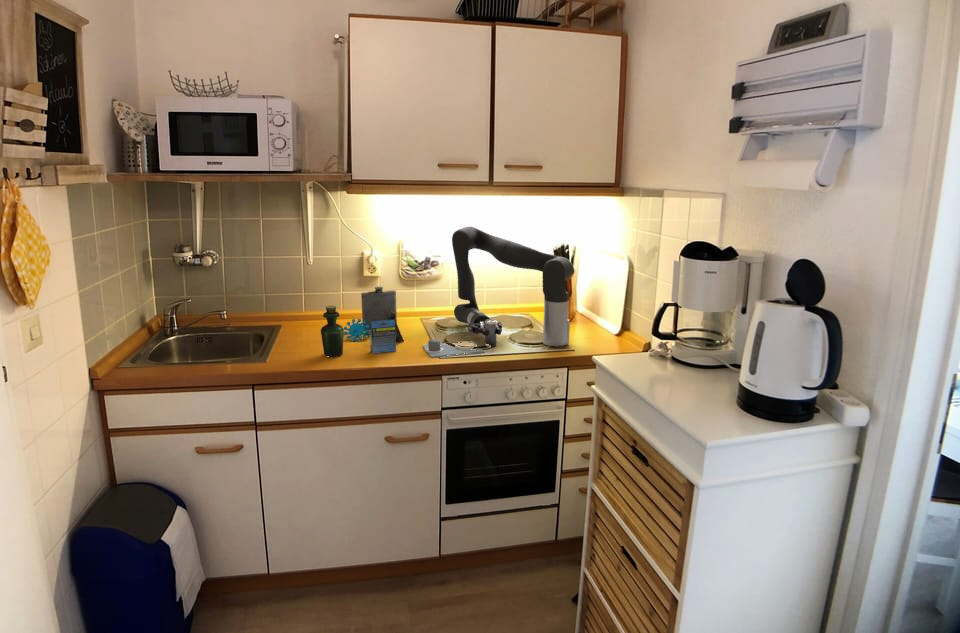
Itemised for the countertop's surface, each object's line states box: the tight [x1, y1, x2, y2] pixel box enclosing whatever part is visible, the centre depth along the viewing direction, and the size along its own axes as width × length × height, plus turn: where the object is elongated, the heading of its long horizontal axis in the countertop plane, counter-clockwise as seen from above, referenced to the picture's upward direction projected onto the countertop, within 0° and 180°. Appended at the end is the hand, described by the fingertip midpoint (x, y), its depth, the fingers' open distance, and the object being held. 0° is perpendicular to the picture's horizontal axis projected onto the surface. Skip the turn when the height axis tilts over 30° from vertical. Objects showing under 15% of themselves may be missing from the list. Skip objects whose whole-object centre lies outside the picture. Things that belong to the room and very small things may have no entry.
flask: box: [360, 286, 398, 330], centre depth 260 cm, size 4×14×18 cm, turn 112°
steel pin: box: [484, 318, 498, 349], centre depth 240 cm, size 4×4×10 cm
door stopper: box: [382, 310, 405, 344], centre depth 245 cm, size 9×6×12 cm, turn 111°
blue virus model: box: [343, 318, 370, 342], centre depth 250 cm, size 11×6×10 cm
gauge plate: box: [421, 338, 485, 359], centre depth 236 cm, size 20×14×4 cm
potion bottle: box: [320, 305, 345, 358], centre depth 227 cm, size 8×8×18 cm
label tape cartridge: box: [369, 320, 397, 354], centre depth 232 cm, size 9×4×12 cm, turn 109°
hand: (493, 332), depth 237 cm, fingers closed on steel pin, 4 cm apart
